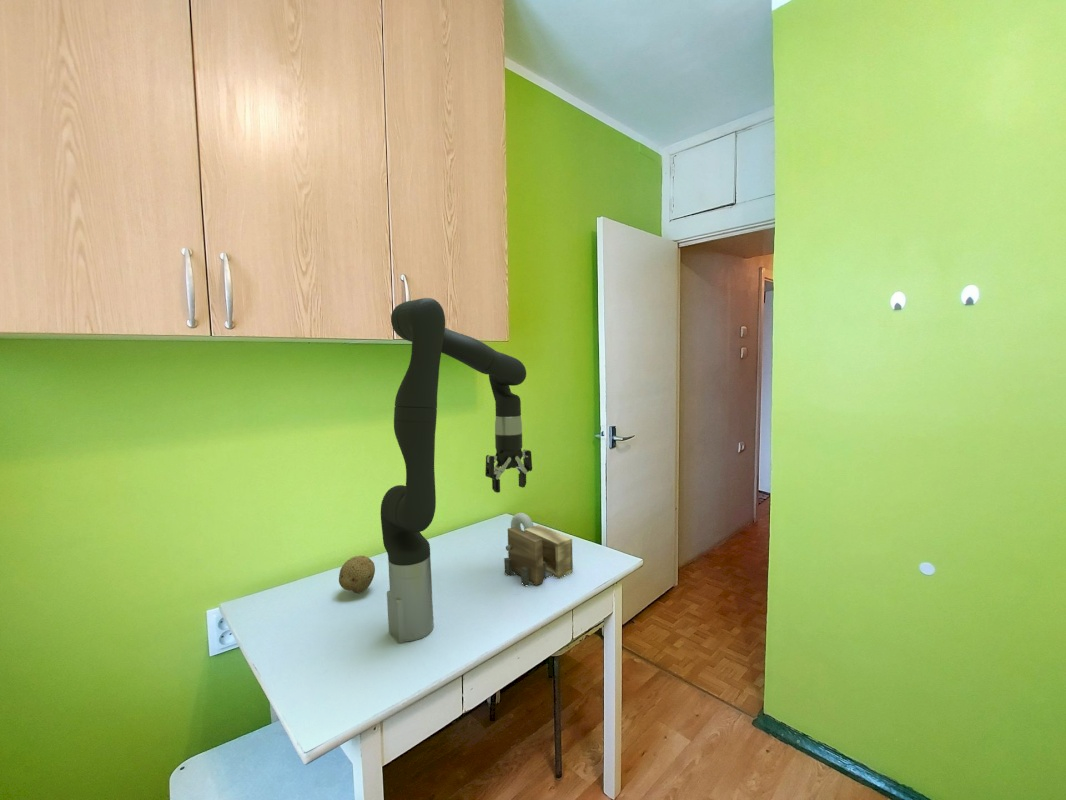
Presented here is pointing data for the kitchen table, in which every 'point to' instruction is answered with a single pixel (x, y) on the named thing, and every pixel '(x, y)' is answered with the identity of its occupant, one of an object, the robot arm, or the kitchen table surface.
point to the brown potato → (357, 574)
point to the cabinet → (548, 554)
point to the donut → (521, 521)
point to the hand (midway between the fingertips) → (509, 489)
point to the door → (525, 554)
